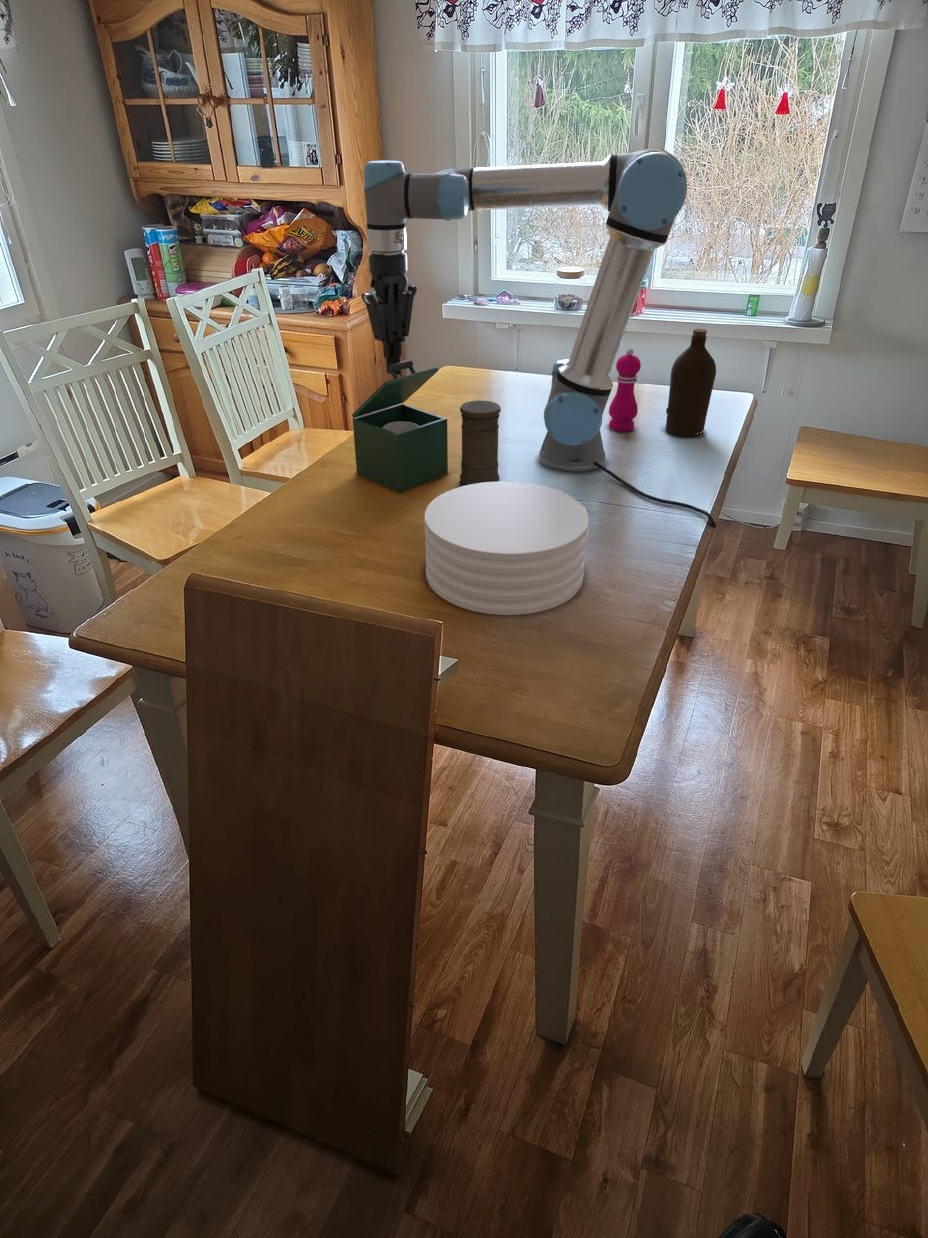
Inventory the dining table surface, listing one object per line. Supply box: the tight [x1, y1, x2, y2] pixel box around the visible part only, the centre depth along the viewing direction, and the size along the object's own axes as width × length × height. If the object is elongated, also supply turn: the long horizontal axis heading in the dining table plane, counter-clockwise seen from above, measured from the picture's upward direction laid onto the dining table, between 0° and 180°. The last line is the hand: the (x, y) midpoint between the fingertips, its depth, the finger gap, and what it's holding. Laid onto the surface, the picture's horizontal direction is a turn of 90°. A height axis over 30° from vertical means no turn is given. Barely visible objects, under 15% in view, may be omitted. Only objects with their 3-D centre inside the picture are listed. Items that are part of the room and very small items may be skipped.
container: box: [458, 399, 502, 487], centre depth 168 cm, size 9×9×18 cm
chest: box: [352, 403, 449, 493], centre depth 175 cm, size 15×15×13 cm
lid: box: [351, 358, 439, 419], centre depth 170 cm, size 15×15×5 cm
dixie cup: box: [382, 421, 419, 434], centre depth 176 cm, size 8×8×10 cm
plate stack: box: [424, 481, 590, 616], centre depth 138 cm, size 28×28×12 cm
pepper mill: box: [608, 347, 642, 433], centre depth 199 cm, size 7×7×20 cm
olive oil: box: [665, 328, 717, 439], centre depth 195 cm, size 11×11×25 cm
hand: (393, 373), depth 168 cm, fingers closed
